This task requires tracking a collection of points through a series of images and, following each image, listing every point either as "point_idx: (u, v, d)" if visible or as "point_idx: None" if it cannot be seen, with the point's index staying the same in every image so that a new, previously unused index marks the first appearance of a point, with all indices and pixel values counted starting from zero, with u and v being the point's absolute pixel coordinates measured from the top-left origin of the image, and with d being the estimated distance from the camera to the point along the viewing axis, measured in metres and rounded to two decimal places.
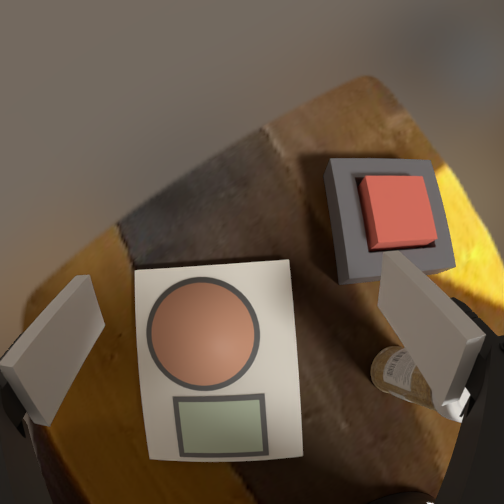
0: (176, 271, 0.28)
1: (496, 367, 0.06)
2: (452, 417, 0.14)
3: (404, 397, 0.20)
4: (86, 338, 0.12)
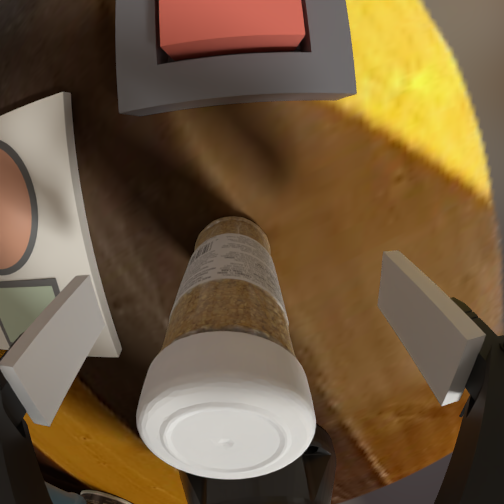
0: None
1: (496, 367, 0.06)
2: None
3: None
4: (86, 338, 0.12)
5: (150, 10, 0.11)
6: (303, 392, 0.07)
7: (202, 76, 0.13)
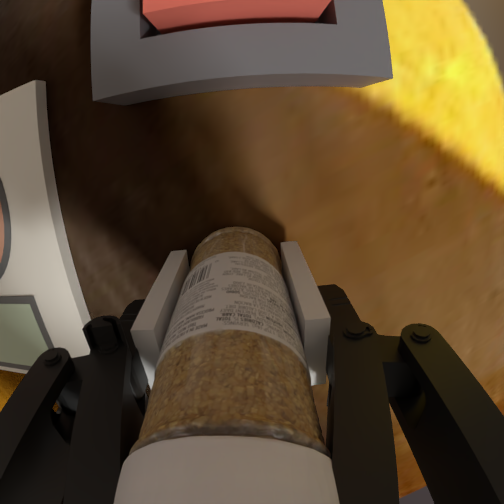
0: None
1: (342, 356, 0.07)
2: None
3: None
4: None
5: None
6: None
7: (197, 50, 0.09)
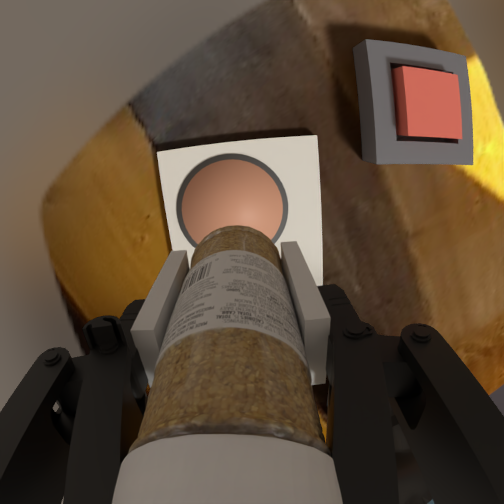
0: (202, 149, 0.26)
1: (342, 356, 0.07)
2: None
3: None
4: None
5: (392, 105, 0.23)
6: None
7: (416, 151, 0.24)
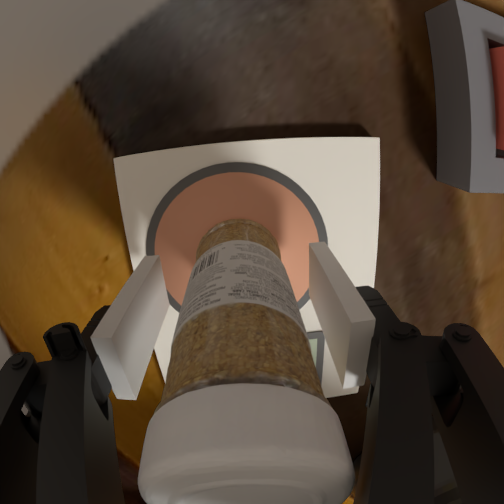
0: (187, 154, 0.15)
1: (388, 356, 0.07)
2: None
3: None
4: (158, 315, 0.14)
5: (492, 103, 0.12)
6: (345, 454, 0.05)
7: None
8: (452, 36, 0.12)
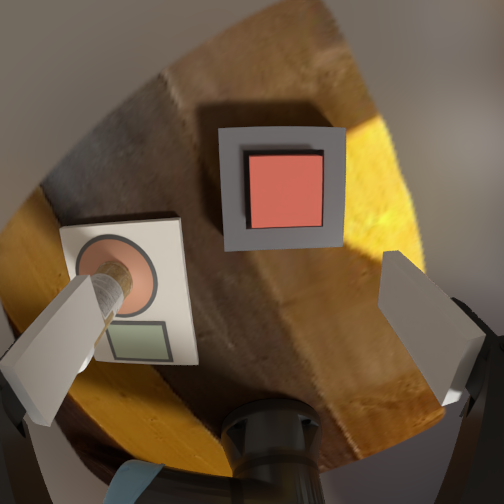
0: (89, 229, 0.31)
1: (496, 367, 0.06)
2: None
3: None
4: (85, 338, 0.12)
5: (242, 195, 0.28)
6: None
7: (269, 238, 0.29)
8: None
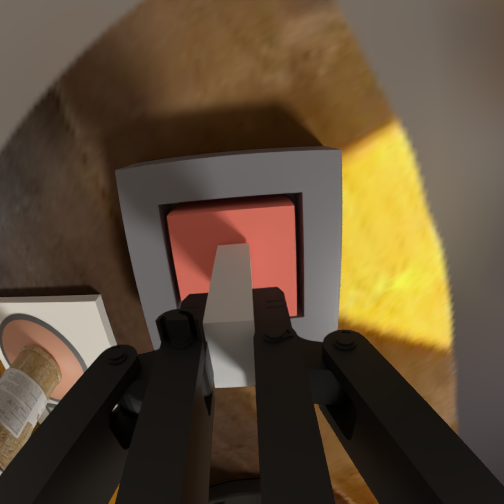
0: (1, 306, 0.20)
1: (262, 361, 0.08)
2: None
3: None
4: None
5: (166, 278, 0.17)
6: None
7: None
8: None
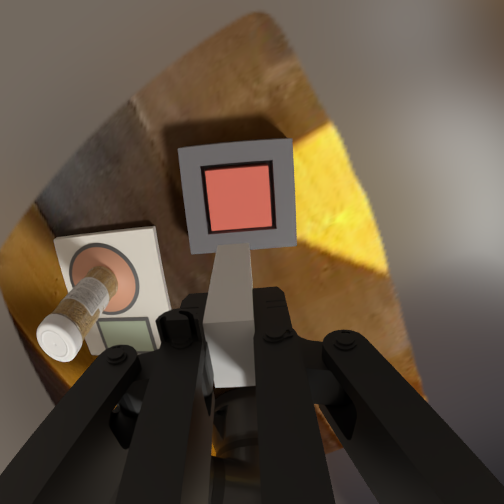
0: (78, 239, 0.35)
1: (262, 361, 0.08)
2: (48, 354, 0.25)
3: None
4: None
5: (202, 205, 0.32)
6: (68, 331, 0.24)
7: (228, 241, 0.33)
8: None
